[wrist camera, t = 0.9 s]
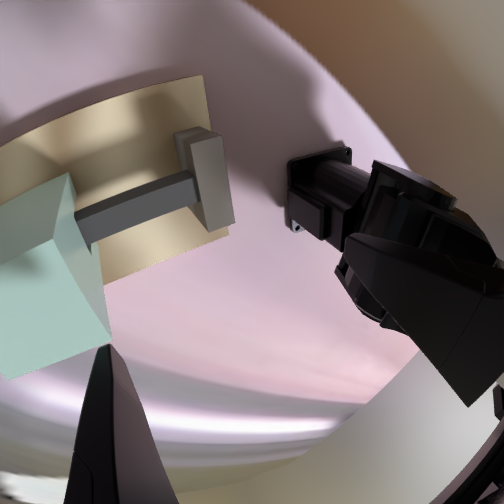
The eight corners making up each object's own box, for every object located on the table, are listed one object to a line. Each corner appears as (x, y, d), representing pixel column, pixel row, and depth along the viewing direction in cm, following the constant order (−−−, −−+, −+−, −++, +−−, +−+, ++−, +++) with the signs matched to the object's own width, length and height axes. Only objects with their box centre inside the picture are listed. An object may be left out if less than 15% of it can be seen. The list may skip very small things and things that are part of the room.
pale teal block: (68, 171, 13) (52, 238, 8) (98, 246, 16) (112, 339, 11) (-16, 214, 11) (-62, 301, 6) (21, 281, 14) (8, 380, 9)
